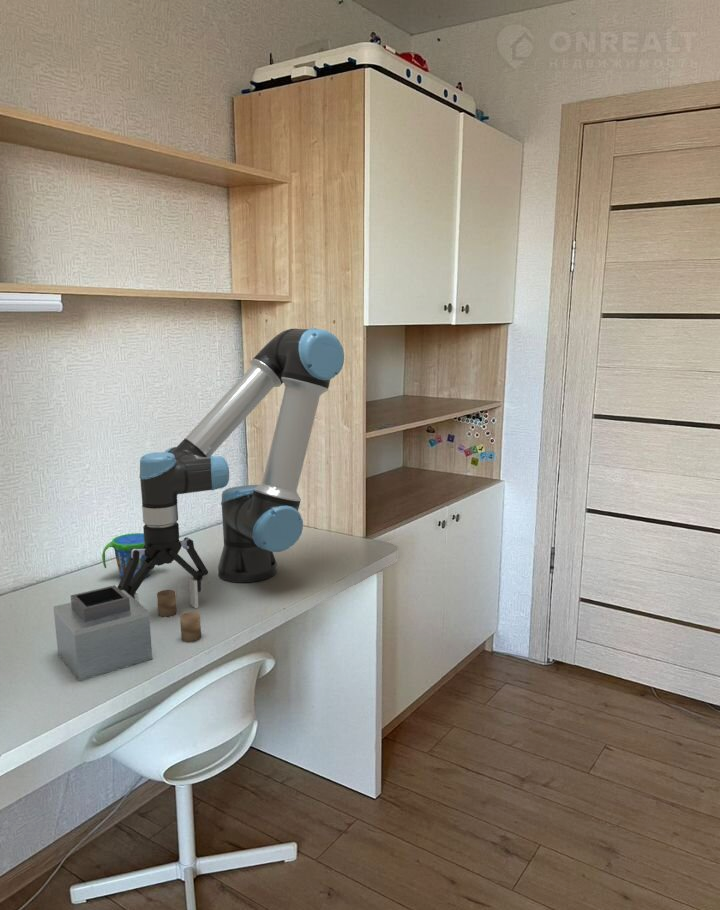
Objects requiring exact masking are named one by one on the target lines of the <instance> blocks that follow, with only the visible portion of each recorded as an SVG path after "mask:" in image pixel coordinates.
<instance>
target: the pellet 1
mask: <svg viewBox="0 0 720 910" xmlns="http://www.w3.org/2000/svg"><path fill="white" fill-rule="evenodd" d="M176 595H177V594H176V591H175V590H173V589H162V590H160V591H158V592H157V593H156V600H157V601H156V603H157V615H158V617H160V618H164V617H166V618H171V617H170V616H172V617H175V616H176V615H177V614H176V613H178V612H177V600H176V599H177V598H176V597H177V596H176Z"/></svg>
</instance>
